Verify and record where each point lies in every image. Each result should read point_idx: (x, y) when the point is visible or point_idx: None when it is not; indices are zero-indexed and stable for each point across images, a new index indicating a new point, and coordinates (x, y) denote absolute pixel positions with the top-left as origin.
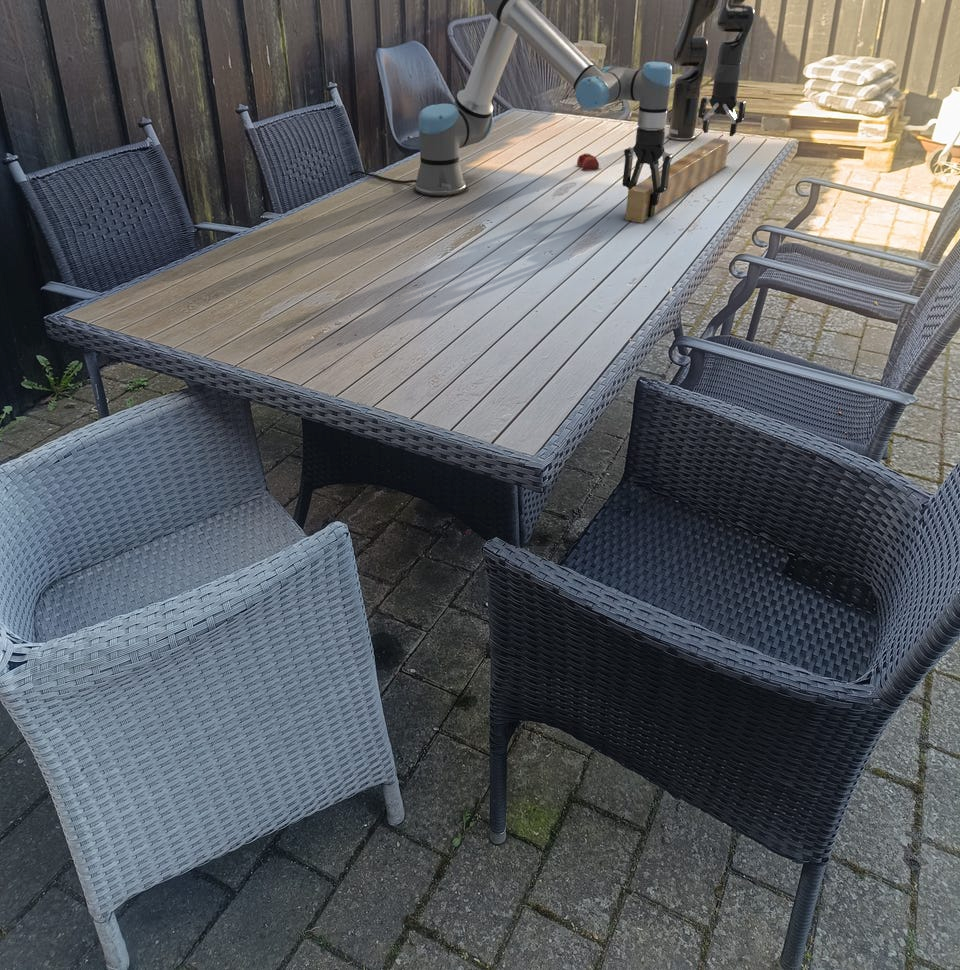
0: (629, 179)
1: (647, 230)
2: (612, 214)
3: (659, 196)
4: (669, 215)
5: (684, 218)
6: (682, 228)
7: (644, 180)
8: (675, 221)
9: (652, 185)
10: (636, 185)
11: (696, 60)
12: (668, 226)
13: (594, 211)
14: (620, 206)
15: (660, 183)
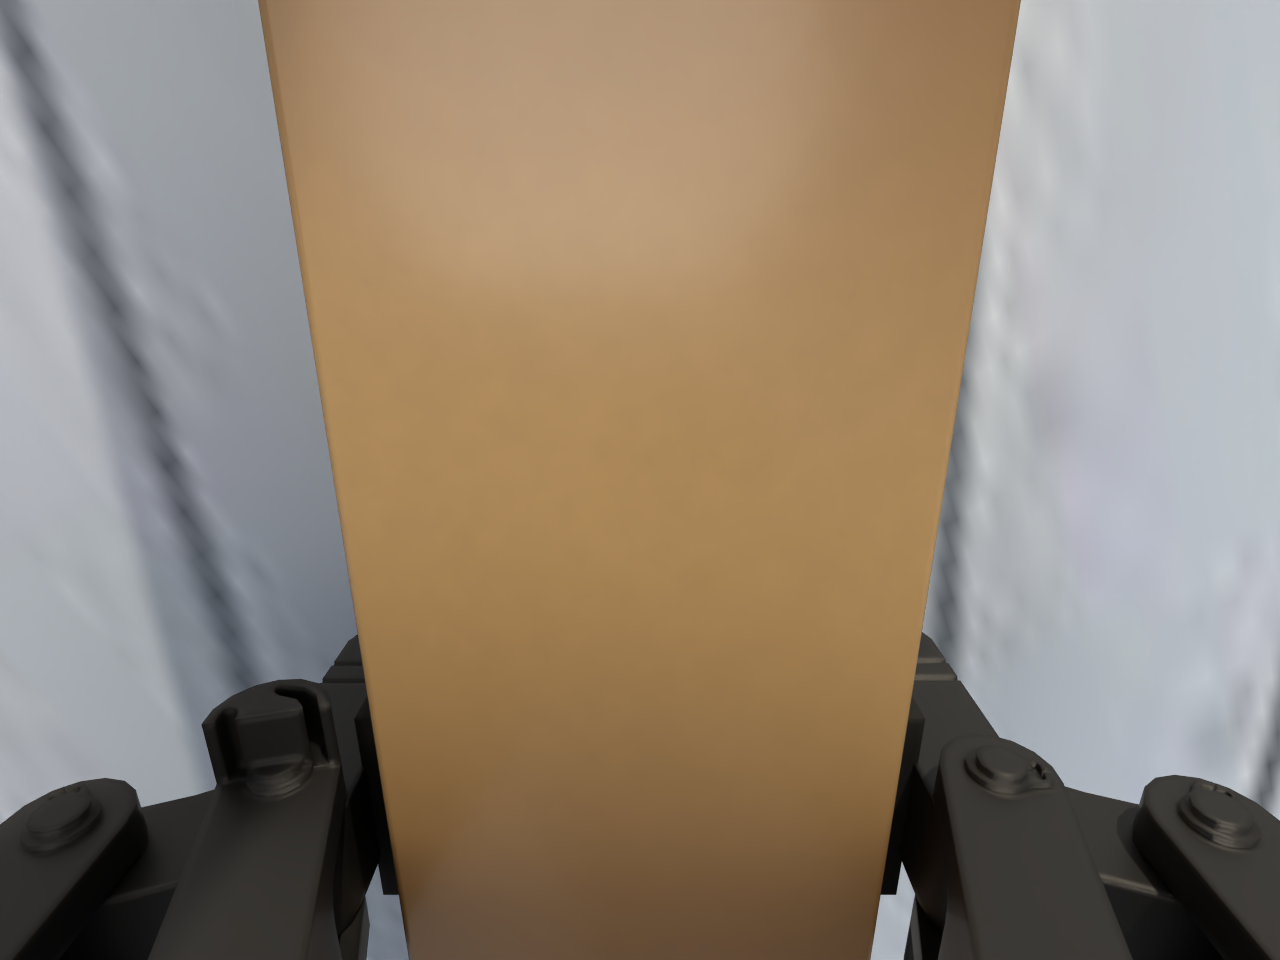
0: (65, 947)
1: (879, 901)
2: (303, 668)
3: (979, 713)
4: (980, 310)
5: (1220, 319)
6: (1237, 686)
7: (340, 428)
8: (1113, 505)
9: (798, 761)
10: (426, 944)
11: None
12: (1063, 705)
13: (64, 681)
14: (173, 314)
15: (952, 414)
